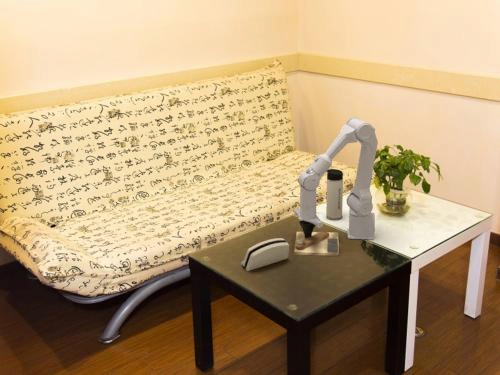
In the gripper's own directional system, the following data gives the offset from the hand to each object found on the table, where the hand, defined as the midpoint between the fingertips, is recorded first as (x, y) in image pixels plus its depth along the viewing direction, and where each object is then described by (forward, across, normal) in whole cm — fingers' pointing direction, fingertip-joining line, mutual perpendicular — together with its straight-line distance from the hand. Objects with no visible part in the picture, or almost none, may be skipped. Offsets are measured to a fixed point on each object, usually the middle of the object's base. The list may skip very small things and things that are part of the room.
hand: (308, 238), depth 213 cm
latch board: (+2, +3, +2) cm, 4 cm away
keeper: (+2, +10, +3) cm, 11 cm away
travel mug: (+2, -13, +22) cm, 26 cm away
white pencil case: (+2, +4, -21) cm, 21 cm away
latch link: (0, +2, 0) cm, 2 cm away
